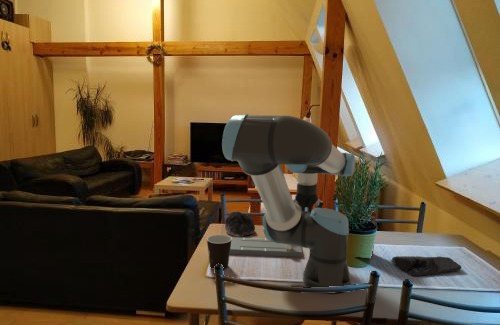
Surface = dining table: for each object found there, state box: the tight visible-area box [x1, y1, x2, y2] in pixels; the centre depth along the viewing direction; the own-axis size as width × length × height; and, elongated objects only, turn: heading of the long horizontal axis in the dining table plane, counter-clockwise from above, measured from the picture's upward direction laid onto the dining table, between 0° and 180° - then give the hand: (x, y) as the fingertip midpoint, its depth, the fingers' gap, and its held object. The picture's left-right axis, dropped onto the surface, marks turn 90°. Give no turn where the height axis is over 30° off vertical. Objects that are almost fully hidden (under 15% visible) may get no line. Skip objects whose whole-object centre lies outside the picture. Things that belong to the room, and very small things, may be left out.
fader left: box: [286, 244, 292, 250], centre depth 135 cm, size 3×2×4 cm, turn 177°
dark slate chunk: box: [390, 255, 462, 277], centre depth 126 cm, size 15×22×5 cm
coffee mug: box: [206, 234, 232, 270], centre depth 124 cm, size 12×9×10 cm
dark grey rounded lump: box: [224, 211, 256, 238], centre depth 159 cm, size 13×14×10 cm
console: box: [230, 236, 303, 258], centre depth 139 cm, size 14×28×2 cm, turn 87°
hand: (304, 242), depth 135 cm, fingers closed
